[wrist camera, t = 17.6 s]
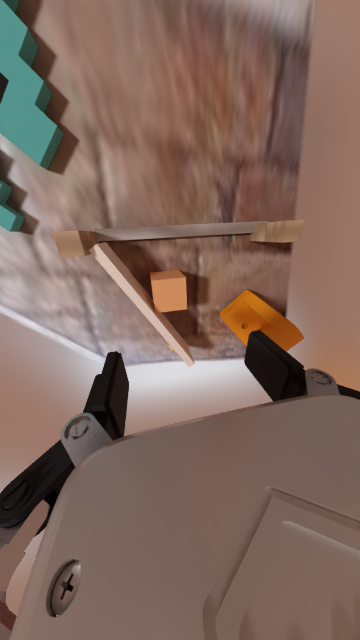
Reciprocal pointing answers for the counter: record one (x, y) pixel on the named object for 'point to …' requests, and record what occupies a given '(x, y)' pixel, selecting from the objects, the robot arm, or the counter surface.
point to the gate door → (140, 299)
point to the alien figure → (22, 103)
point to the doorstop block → (169, 290)
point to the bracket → (259, 321)
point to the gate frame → (176, 234)
